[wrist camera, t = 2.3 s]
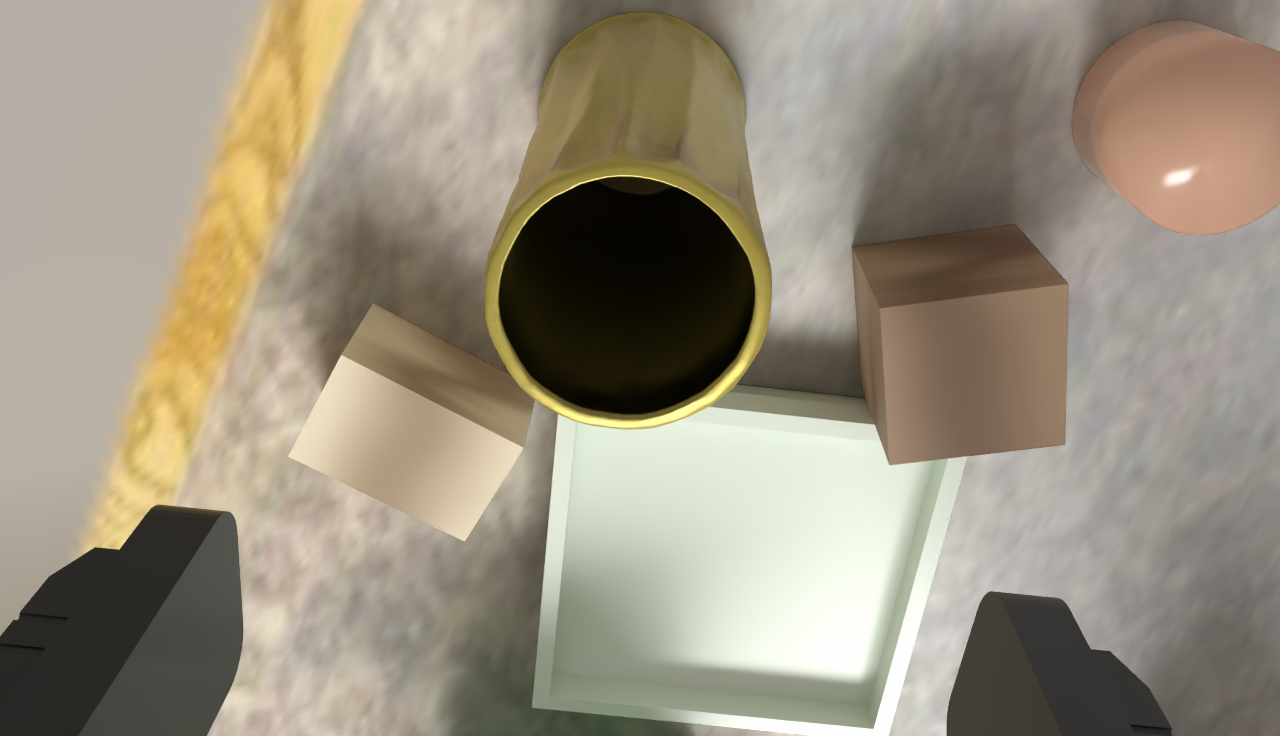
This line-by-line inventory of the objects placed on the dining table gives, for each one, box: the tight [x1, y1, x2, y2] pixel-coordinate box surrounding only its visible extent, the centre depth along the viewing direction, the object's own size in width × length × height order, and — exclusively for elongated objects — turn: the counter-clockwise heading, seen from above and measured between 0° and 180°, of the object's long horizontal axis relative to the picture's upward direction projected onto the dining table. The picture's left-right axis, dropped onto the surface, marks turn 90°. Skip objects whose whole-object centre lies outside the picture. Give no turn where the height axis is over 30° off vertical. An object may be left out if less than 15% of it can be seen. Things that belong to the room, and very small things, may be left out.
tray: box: [532, 384, 968, 736], centre depth 38 cm, size 13×13×2 cm
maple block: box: [288, 304, 535, 542], centre depth 35 cm, size 6×4×4 cm, turn 59°
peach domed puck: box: [1072, 20, 1280, 235], centre depth 30 cm, size 5×5×4 cm
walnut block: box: [852, 225, 1069, 465], centre depth 33 cm, size 5×5×5 cm
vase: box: [484, 12, 772, 430], centre depth 26 cm, size 6×6×14 cm
